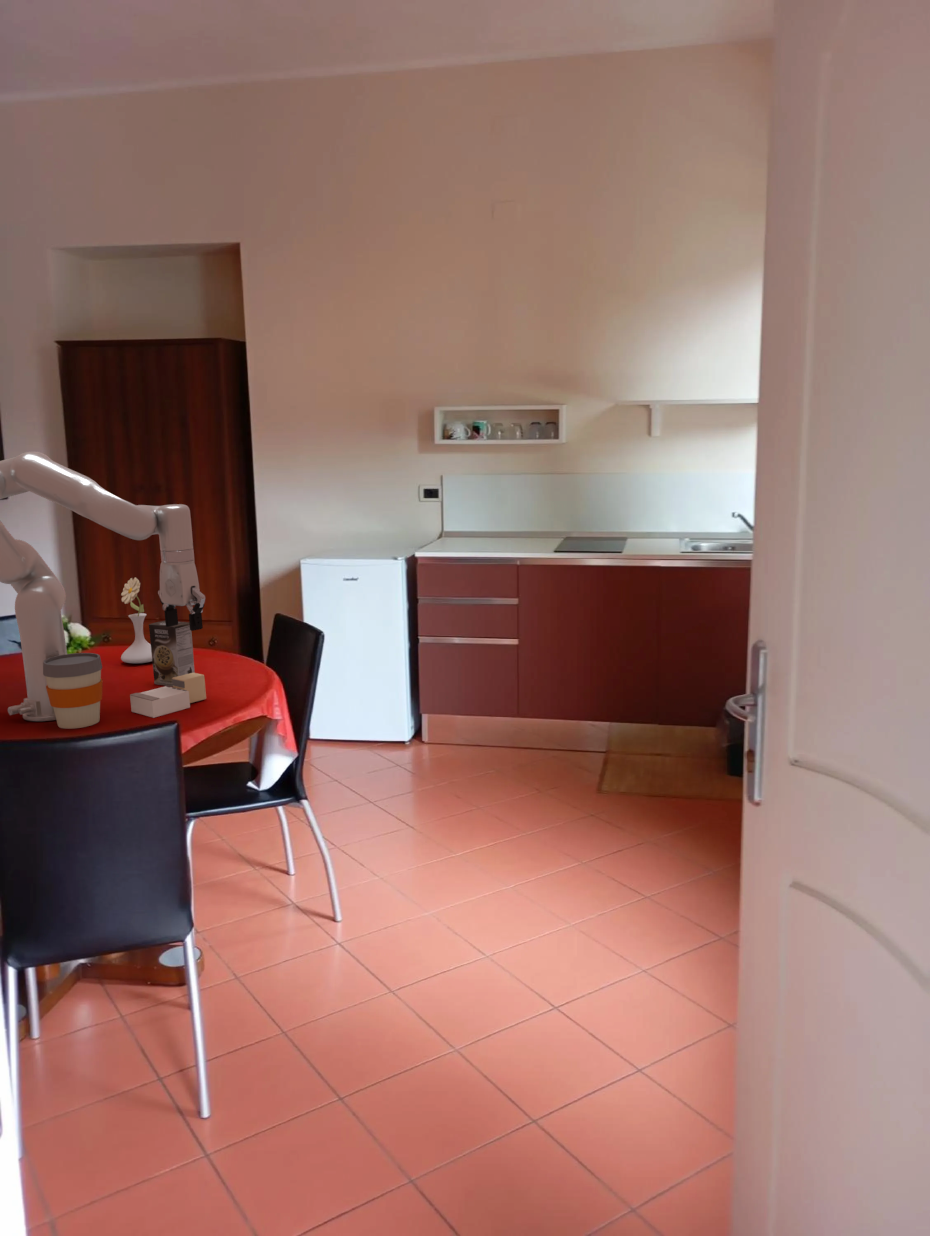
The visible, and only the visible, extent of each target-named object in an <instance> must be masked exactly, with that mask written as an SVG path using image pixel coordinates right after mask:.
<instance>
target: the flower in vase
mask: <svg viewBox="0 0 930 1236" xmlns="http://www.w3.org/2000/svg"><path fill="white" fill-rule="evenodd" d="M140 587H141V582H140V580H139V579H138V578H137V577H134V578H133V577H131V578H130V579H129V580H127V583H124V587H123V589H122V592H121V594H120V596H122V597H121V602H122V603H124V604H125V605H126V604H127V605H128V604H129V603H130V607H131V608H132V609H134V610H135V611H138V612H137V613H133V614H129V615H127V616H128V618H129V619H130V620H131V622H132V623H133V624H132V625H133V629H134V636H135V637H134V641H133V642H132V644H131V645H130V646H128V648H127V649H126V650H124V652H122V654H121V657H120V660H121V661H122V662H124V663H127V664H137V665H138V664H146V663H151V662H152V652H151V642H150V643H149V642H148V641H147V640H146V639H145V635H144V621H145V618H146V616H147V613H144V612H145V609H144V603H143V604H141V603H142V602H141V601H140V598H139V597H138V593H139V592H140ZM135 598H136V599H137V601H138V603H139V606H138V605H136V604H135V603H134V602H133V601H135V600H136V599H135Z"/></svg>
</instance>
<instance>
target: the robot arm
mask: <svg viewBox="0 0 930 1236" xmlns="http://www.w3.org/2000/svg"><path fill="white" fill-rule="evenodd" d="M28 492H30V493H33V494H35V495H37V496H39V497H42V498H44V499H47V500H49V501H51V502H53V503H54V504H57V505H60V506H61V507H63V508H66V509H67V510H70V511H72V512H74V513H76V514H77V515H80V516H81V517H83V518H86V519H89V520H90V521H92V522H94V523H96V524H98V525H100V526H102V527H104V528H106V529H107V530H109V531H110V530H111V531H113V532H115V533H117V534H120V535H121V536H122V537H123V536H124V537H125V538H128V539H130V540H131V539H132V540H135V541H143V540H147V539H148V538H150V537H151V536H152V535H158V537H159V549H160V559H161V560H160V561H161V563H160V568H159V590H158V591H157V594H158V596H159V599H160V603H161V605H162V610H163V612H164V621H165V623H166V626H167V627H170V626H174V625H178V622H179V619H178V609H177V607H184V606H186V608H187V610H188V611H189V614H188V619H189V620H188V623H190V630H191V631H193V632H194V631H198V630H202V629H203V625H204V624H203V615H202V614H203V611H204V607H205V603H206V594H204V593H202V591H200V583H199V577H198V572H197V567H196V564H195V553H194V551H195V550H194V542H193V541H194V540H193V531H192V530H193V529H192V528H193V527H192V518H191V510H190V507H189V506H188V505H186V504H182V503H179V504H177V503H173V504H164V505H146V504H138V505H137V504H134V503H132V502H130V501H128V500H125V499H123V498H121V497H119V496H117V495H115V494H113V493H111V492H110V491H108V490H106V489H105V488H103V487H102V486H101V485H99V484H98V483H97V482H96V481H95V480H93V479H92V478H91V477H89V476H87V475H84V474H83V473H80V472H78V471H75V470H73V469H72V468H68V467H67V466H65V465H62V464H60V463H58V462H56V461H55V460H52V458H50V457H49V456H48V455H47V454H45V453H43V452H41V451H25V452H22V453H20V454H19V455H17V456H14V457H11V458H6V459H3V460H0V500H2V499H6V498H10V497H14V496H17V495H20V494H24V493H28ZM0 583H2V584H5V585H10V586H11V587H12V588H13V590H14V591H15V592H16V593H17V595H16V597H15V601H14V612H15V613H14V614H15V619H16V622H17V626H18V633H19V638H20V645H21V652H22V660H23V662H22V663H23V669H24V677H25V687H26V694H27V697H25V698H23V702H21V703H20V704H17V705H12V706H8V708H7V713H8V715H9V716H13V715H17V714H19V715H22V719H23V720H25V721H28V722H49V721H51V722H52V721H57V720H56V716H55V712H54V708H53V707H52V706H51V705H50V701H49V697H48V693H47V689H46V686H47V681H46V678H45V676H44V675H43V661H44V660H46V659H48V658H51V657H55V656H59V655H65V654H68V650H67V644H66V643H67V642H66V636H65V629H64V624H63V622H64V621H63V617H62V609H63V608H64V606H65V604H66V601H67V593H66V590H65V587H64V586H63V584H62V583H61V581H60V580H59V578H58V577H57V576H56V574H55V573H54V571H52V569H51V568H50V567H49V565H48V564H47V563H46V561H45V560H44V559H43V557H42V556H41V555H40V554H39V552H38V551H37V550H36V549H35V548H34V547H33V546H32V544H30V543H28V542H26V541H24V540H22V539H15V537H13V535H12V534H11V533H10V531H9V530H8V529H7V528H6V526H5V525H4V523H3V522H2V521H1V520H0ZM176 606H177V607H176Z"/></svg>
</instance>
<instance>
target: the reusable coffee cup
mask: <svg viewBox="0 0 930 1236" xmlns="http://www.w3.org/2000/svg"><path fill="white" fill-rule="evenodd" d="M102 670H103V664H102V659H101V655H100V654H98V653H93V652H77V653H67V654H65V655H59V656H55V657H51V658H48V659H46V660H44V661H43V675H44V676H45V678H46V681H47V686H46V689H47V693H48V697H49V701H50V705H51V706H52V707H53V708H54V712H55V716H56V720H55V721H56V724H57V726H58V727H59V728H60V729H69V730H70V729H72V730H73V729H80V728H87V727H89V726H94V725H96V724H98V723H99V722H100V719H101V718H100V715H101V714H100V713H101V701H102V700H103V679H102V678H101V677H102Z"/></svg>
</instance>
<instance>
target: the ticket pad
mask: <svg viewBox="0 0 930 1236" xmlns="http://www.w3.org/2000/svg"><path fill="white" fill-rule="evenodd" d="M129 698H130V708H131V709H130V710H131V712H132V713H136V714H139V715H143V716H146V717H149V718H153V719H154V718H157V717H160V716H161V717H162V716H165V715H168V714H172V713H175V712H179V711H183V710H185V709H190V708H191V703H190V700H189V691H187V690H182V689H177V688H174V687H173V686H166V685H163V686H161V687H158V688H154V689H153V688H152V689H150V690H146V691H142V692H134V693H131V694H129Z"/></svg>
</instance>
